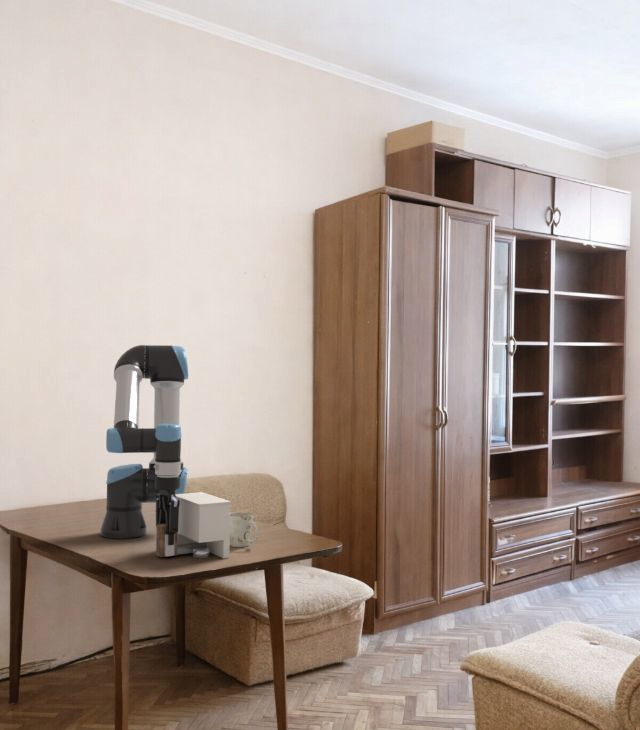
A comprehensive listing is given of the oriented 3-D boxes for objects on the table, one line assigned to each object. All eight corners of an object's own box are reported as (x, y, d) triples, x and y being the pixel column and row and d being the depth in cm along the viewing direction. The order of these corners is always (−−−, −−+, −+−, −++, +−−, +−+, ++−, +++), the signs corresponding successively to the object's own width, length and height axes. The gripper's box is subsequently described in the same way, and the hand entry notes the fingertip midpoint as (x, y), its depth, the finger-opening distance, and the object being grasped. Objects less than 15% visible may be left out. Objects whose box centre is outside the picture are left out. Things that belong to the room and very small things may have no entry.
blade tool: (156, 554, 235) (156, 524, 235) (202, 548, 243) (202, 519, 243) (161, 557, 232) (161, 526, 232) (207, 551, 240) (208, 521, 240)
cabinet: (171, 548, 247) (171, 494, 247) (201, 544, 252) (202, 492, 253) (198, 561, 230) (199, 504, 230) (230, 557, 235) (231, 501, 236)
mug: (239, 541, 258) (240, 510, 258) (267, 547, 250) (268, 515, 250) (221, 545, 252) (221, 514, 252) (249, 551, 244) (250, 519, 244)
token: (189, 555, 238) (190, 547, 238) (205, 553, 240) (205, 546, 240) (196, 559, 233) (197, 551, 233) (212, 557, 236) (212, 549, 236)
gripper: (145, 473, 240) (144, 549, 240) (166, 479, 226) (165, 561, 225) (168, 471, 244) (167, 547, 244) (191, 478, 230) (189, 558, 230)
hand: (166, 553), depth 235 cm, fingers closed on blade tool, 4 cm apart
